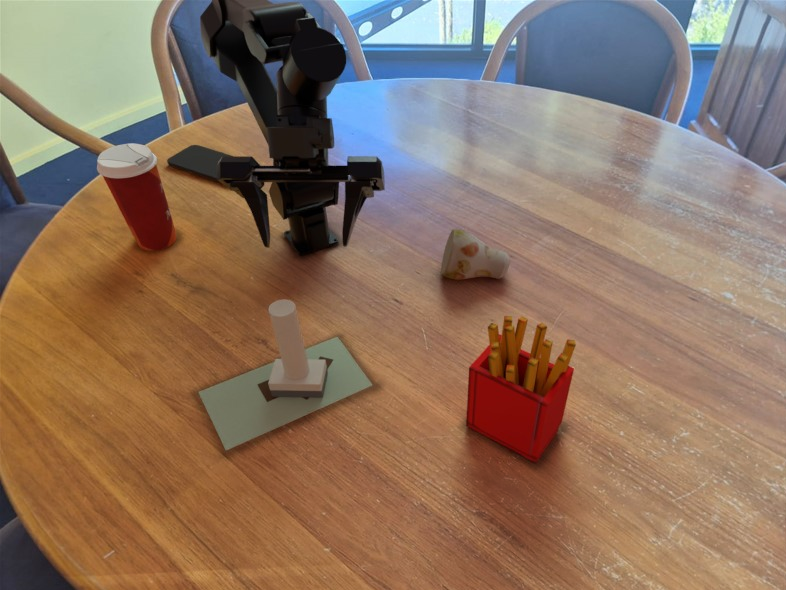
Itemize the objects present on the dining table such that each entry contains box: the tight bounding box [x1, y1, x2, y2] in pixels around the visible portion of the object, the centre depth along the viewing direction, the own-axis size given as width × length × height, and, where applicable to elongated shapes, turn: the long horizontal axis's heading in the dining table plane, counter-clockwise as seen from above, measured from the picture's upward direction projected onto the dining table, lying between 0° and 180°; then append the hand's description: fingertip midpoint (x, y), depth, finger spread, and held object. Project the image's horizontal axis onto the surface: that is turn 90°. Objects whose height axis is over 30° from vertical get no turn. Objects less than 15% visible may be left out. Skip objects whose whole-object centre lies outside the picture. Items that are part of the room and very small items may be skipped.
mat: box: [198, 336, 373, 451], centre depth 74 cm, size 10×18×1 cm, turn 124°
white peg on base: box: [268, 298, 328, 398], centre depth 70 cm, size 6×4×12 cm, turn 91°
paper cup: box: [96, 142, 178, 251], centre depth 90 cm, size 8×8×14 cm
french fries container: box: [465, 315, 577, 464], centre depth 67 cm, size 7×9×14 cm
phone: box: [166, 144, 232, 184], centre depth 110 cm, size 7×1×15 cm
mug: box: [440, 228, 511, 281], centre depth 89 cm, size 8×10×10 cm
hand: (306, 246), depth 74 cm, fingers open, 9 cm apart
